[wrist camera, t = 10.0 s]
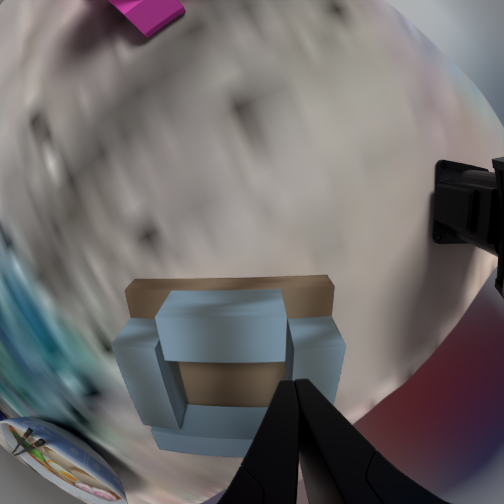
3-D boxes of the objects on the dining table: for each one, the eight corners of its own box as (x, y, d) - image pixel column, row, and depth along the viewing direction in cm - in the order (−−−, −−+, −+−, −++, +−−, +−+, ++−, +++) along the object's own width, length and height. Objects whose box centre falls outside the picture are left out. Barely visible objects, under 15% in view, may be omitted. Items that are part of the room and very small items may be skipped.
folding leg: (319, 404, 20) (327, 438, 17) (314, 424, 21) (320, 456, 17) (160, 400, 20) (149, 433, 17) (167, 421, 21) (158, 451, 17)
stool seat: (327, 274, 19) (351, 312, 14) (311, 407, 23) (320, 451, 18) (135, 278, 19) (101, 314, 14) (168, 406, 23) (156, 448, 18)
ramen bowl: (101, 482, 33) (90, 510, 25) (9, 409, 28) (-10, 435, 20) (174, 470, 28) (164, 515, 20) (37, 366, 23) (3, 407, 15)
